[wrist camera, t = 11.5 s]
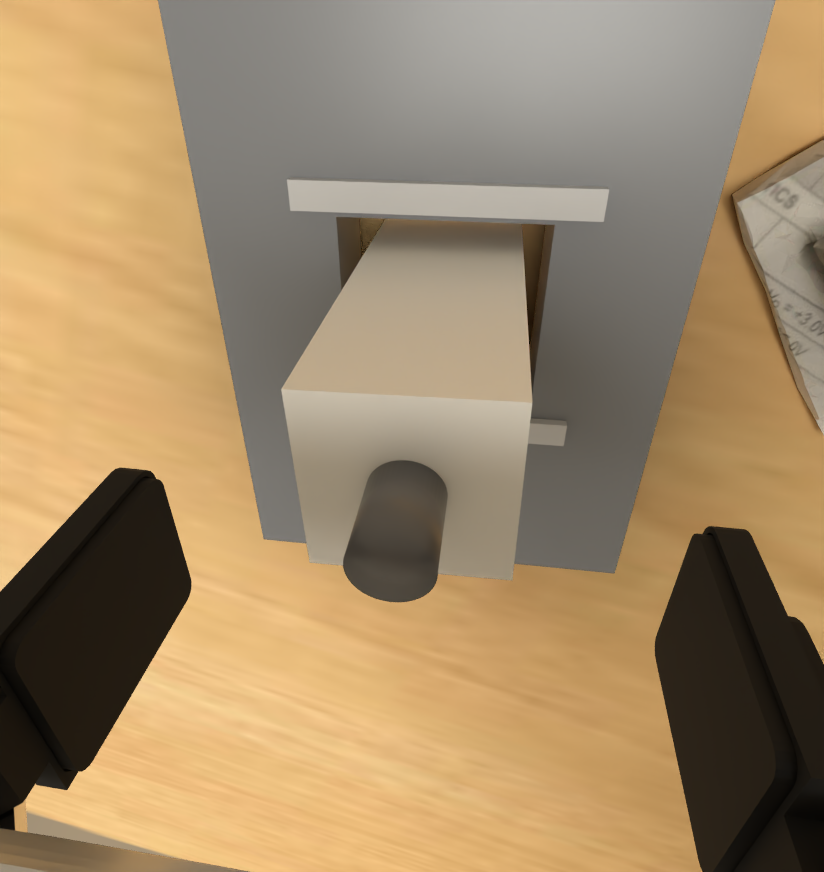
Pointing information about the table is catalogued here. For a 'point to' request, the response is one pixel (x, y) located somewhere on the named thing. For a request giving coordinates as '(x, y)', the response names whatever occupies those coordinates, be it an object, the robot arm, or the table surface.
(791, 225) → the packaged product
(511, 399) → the charger plug
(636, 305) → the plate
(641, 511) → the table surface
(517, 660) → the table surface
